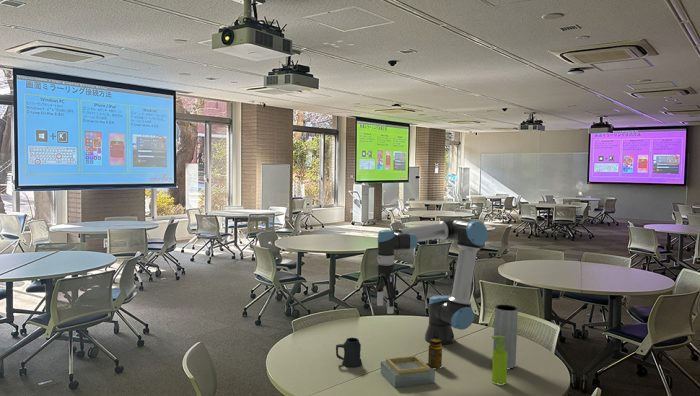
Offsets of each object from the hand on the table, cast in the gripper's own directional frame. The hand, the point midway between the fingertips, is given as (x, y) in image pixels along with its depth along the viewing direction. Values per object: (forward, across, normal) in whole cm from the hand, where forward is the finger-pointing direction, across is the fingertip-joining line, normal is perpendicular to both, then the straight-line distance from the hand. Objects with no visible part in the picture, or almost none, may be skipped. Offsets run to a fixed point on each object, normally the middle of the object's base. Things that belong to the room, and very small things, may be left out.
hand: (385, 309), depth 244 cm
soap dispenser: (+25, +35, +38) cm, 57 cm away
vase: (+25, +19, +51) cm, 60 cm away
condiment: (+24, +12, +19) cm, 33 cm away
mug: (+24, 0, -17) cm, 30 cm away
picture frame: (+24, +20, +2) cm, 31 cm away
